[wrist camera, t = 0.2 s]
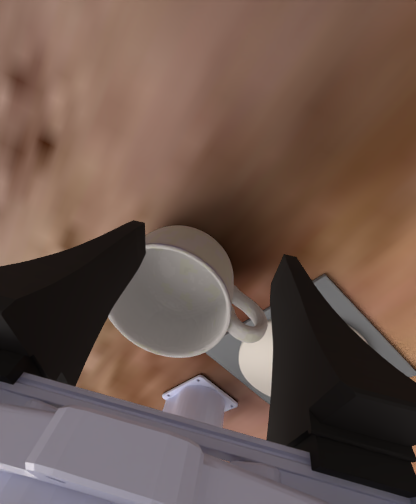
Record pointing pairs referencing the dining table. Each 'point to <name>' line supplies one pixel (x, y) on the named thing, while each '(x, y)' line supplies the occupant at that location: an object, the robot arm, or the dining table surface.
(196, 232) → the teacup
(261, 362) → the lid
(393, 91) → the dining table surface
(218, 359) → the mat
